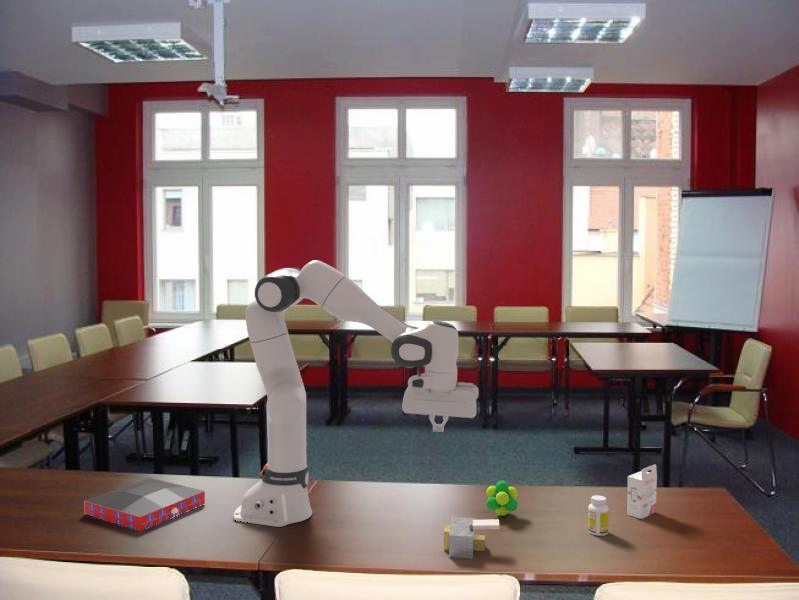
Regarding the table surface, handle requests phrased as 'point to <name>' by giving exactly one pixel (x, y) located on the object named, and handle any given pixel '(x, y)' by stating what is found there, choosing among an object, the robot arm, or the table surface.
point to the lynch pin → (477, 540)
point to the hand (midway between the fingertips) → (438, 431)
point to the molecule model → (502, 498)
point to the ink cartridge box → (642, 493)
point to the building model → (144, 503)
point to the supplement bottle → (598, 516)
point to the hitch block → (461, 538)
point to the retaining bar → (484, 524)
